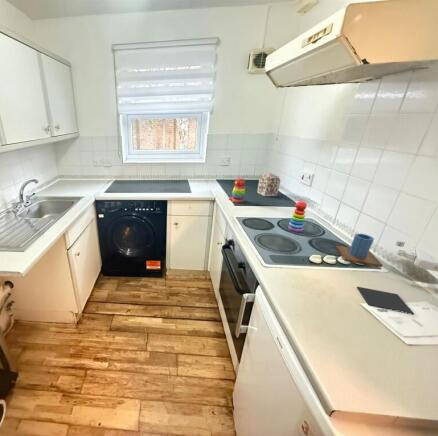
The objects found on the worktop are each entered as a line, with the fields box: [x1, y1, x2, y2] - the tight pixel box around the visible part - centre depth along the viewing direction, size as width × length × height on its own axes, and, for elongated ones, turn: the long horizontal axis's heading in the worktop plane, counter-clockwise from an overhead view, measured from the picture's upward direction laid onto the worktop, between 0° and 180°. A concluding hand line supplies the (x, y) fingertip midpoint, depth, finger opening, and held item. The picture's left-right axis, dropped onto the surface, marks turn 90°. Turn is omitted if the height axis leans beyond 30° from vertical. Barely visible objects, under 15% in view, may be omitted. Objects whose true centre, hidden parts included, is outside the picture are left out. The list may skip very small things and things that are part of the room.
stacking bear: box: [228, 177, 246, 204], centre depth 182 cm, size 11×10×18 cm
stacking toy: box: [287, 200, 308, 233], centre depth 130 cm, size 8×8×19 cm
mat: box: [356, 286, 415, 315], centre depth 84 cm, size 12×10×1 cm
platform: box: [334, 244, 383, 268], centre depth 107 cm, size 13×13×7 cm
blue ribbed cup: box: [349, 233, 375, 258], centre depth 105 cm, size 6×6×9 cm
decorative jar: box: [256, 172, 281, 198], centre depth 197 cm, size 12×12×18 cm
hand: (397, 247), depth 98 cm, fingers open, 8 cm apart
